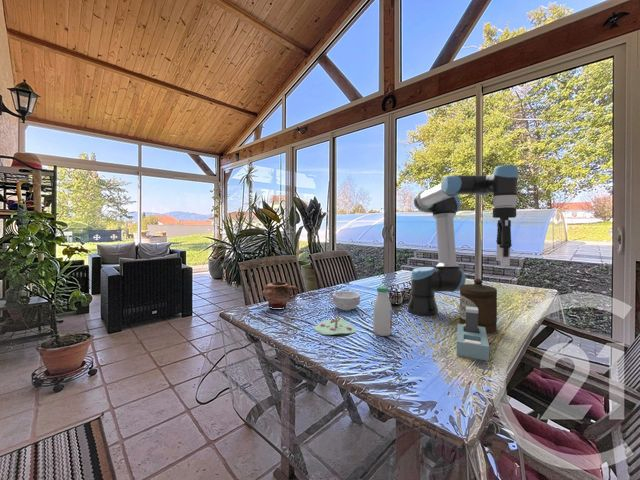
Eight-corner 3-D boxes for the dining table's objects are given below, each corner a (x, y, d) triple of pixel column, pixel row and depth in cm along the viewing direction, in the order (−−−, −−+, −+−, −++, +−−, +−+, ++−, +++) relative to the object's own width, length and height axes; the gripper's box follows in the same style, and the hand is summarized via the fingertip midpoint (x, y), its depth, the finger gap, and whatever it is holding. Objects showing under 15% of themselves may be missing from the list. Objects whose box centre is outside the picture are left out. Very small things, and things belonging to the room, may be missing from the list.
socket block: (456, 355, 103) (456, 340, 102) (457, 335, 120) (457, 322, 120) (488, 361, 98) (489, 345, 98) (484, 339, 116) (485, 326, 116)
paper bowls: (361, 312, 152) (361, 297, 151) (333, 312, 152) (332, 297, 152) (358, 304, 167) (358, 290, 166) (332, 304, 167) (332, 290, 167)
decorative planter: (296, 303, 170) (295, 280, 169) (300, 309, 158) (299, 284, 157) (261, 306, 165) (261, 282, 164) (263, 312, 153) (262, 286, 152)
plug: (465, 339, 112) (466, 309, 111) (465, 335, 116) (465, 306, 115) (477, 341, 110) (478, 310, 110) (476, 337, 114) (477, 307, 113)
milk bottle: (388, 338, 118) (388, 290, 117) (370, 334, 122) (370, 288, 121) (394, 331, 125) (394, 286, 123) (377, 328, 129) (377, 284, 127)
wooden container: (453, 321, 137) (454, 275, 136) (485, 321, 137) (486, 275, 135) (468, 333, 122) (469, 282, 121) (504, 333, 122) (505, 282, 120)
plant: (314, 317, 146) (314, 300, 145) (354, 317, 145) (354, 300, 145) (312, 337, 121) (312, 316, 120) (361, 337, 120) (361, 316, 120)
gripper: (522, 205, 95) (520, 268, 96) (511, 208, 117) (509, 259, 119) (496, 206, 98) (494, 267, 100) (489, 208, 120) (488, 258, 122)
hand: (502, 263), depth 109 cm, fingers open, 13 cm apart
